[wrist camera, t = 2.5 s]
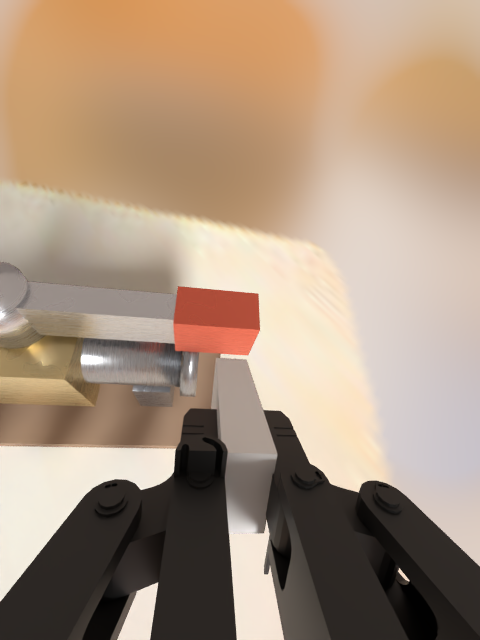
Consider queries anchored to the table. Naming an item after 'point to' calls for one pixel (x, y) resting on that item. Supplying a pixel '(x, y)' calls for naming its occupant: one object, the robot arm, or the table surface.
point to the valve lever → (126, 315)
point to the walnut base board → (107, 418)
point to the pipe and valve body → (94, 371)
